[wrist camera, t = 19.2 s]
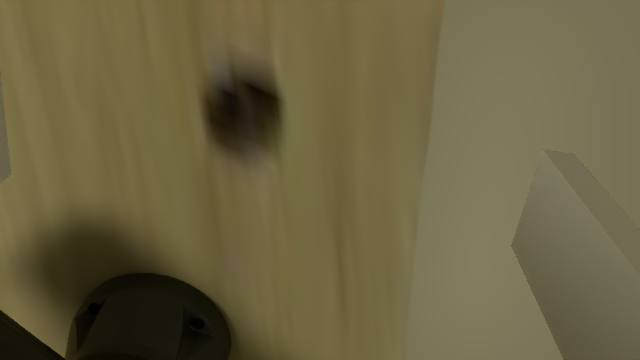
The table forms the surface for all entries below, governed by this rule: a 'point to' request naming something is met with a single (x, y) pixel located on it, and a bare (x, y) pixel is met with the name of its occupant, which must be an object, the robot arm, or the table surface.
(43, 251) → the table surface
